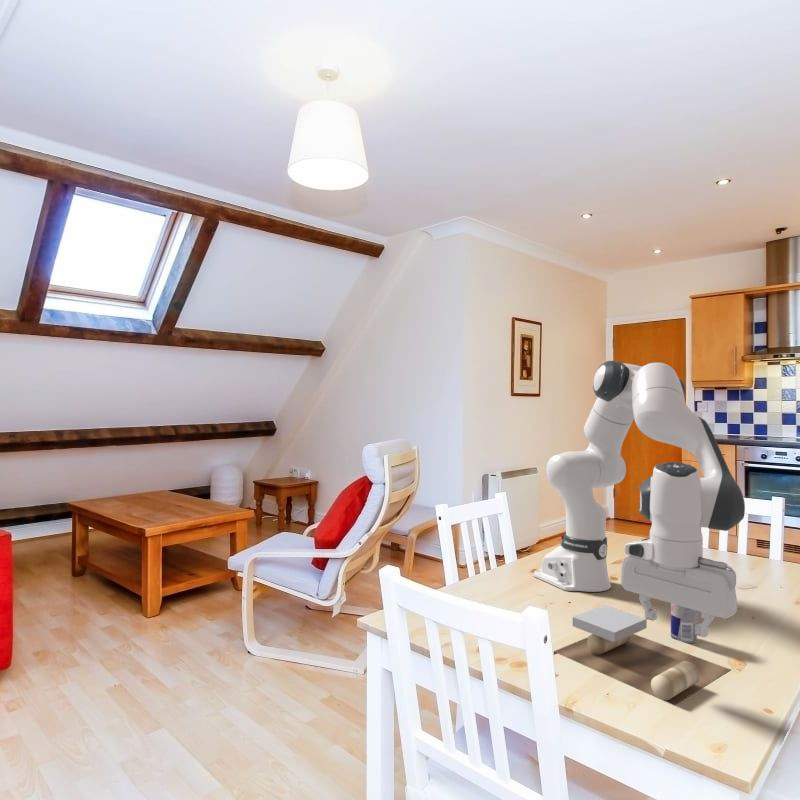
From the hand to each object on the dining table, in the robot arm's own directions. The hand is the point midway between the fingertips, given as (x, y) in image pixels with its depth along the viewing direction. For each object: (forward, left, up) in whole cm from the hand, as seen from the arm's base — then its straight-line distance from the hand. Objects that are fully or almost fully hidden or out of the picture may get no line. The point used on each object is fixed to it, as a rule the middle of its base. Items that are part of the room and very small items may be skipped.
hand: (675, 627), depth 106 cm
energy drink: (-11, +26, -13) cm, 31 cm away
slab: (-17, +6, -7) cm, 20 cm away
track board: (-10, +6, -13) cm, 17 cm away
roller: (0, 0, -12) cm, 12 cm away
